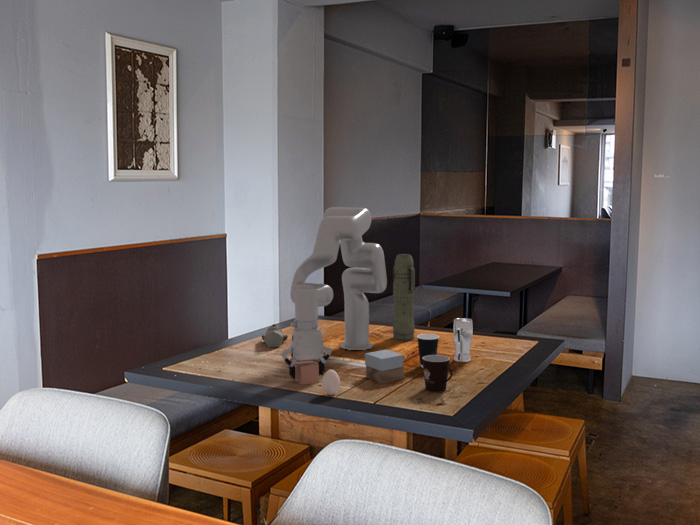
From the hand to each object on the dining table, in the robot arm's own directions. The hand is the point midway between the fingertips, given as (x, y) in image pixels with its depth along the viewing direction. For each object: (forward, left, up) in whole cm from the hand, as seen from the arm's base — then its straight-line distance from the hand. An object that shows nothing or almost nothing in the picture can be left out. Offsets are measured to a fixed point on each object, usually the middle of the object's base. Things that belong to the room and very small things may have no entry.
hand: (307, 376), depth 235 cm
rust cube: (0, 0, -2) cm, 2 cm away
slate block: (+7, +25, +2) cm, 26 cm away
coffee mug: (+26, +34, -2) cm, 43 cm away
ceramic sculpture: (-54, +5, -2) cm, 54 cm away
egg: (+17, +2, -2) cm, 17 cm away
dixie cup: (0, +45, -2) cm, 45 cm away
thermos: (-43, +57, -2) cm, 71 cm away
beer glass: (-3, +61, -2) cm, 61 cm away
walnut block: (+7, +25, -2) cm, 26 cm away
